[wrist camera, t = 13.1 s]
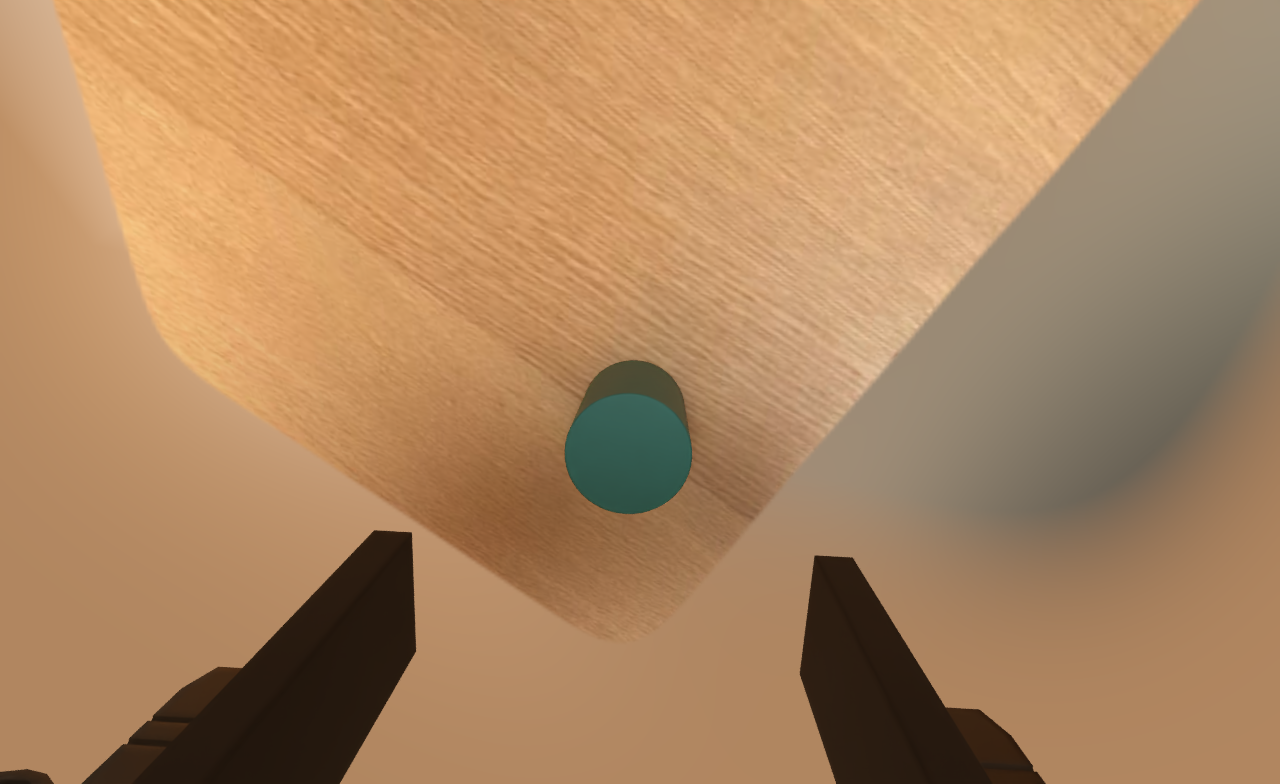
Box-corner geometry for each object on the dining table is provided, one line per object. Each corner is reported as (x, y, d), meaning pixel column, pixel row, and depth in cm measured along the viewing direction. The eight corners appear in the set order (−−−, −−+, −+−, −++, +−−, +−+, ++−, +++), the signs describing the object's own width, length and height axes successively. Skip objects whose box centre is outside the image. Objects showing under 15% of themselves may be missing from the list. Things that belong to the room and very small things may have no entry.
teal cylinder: (581, 455, 28) (562, 511, 23) (584, 357, 27) (565, 389, 22) (680, 460, 28) (687, 518, 23) (687, 363, 27) (696, 396, 22)
